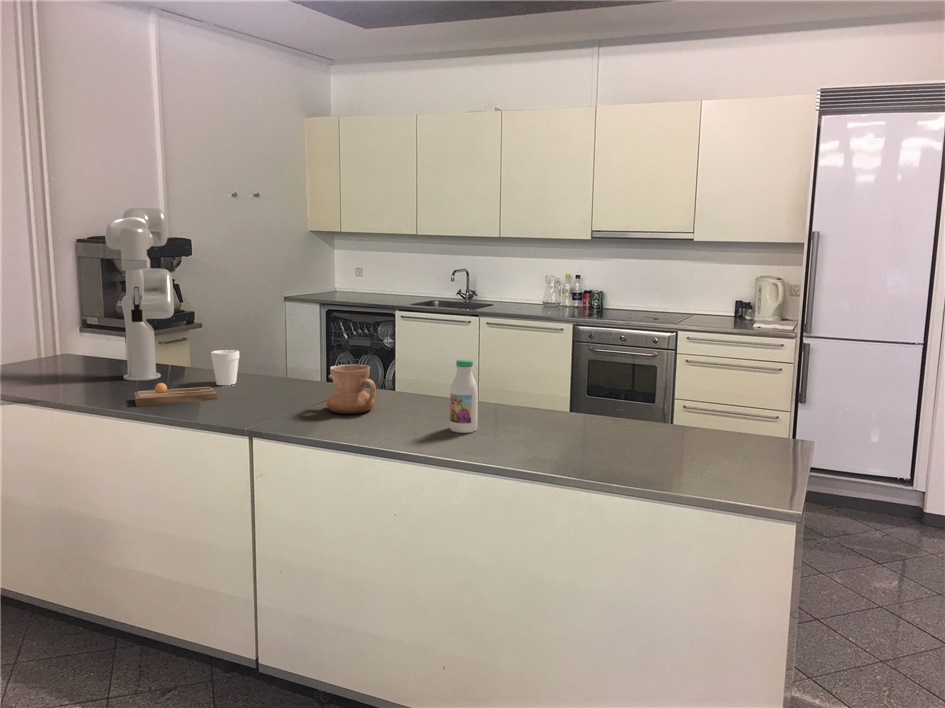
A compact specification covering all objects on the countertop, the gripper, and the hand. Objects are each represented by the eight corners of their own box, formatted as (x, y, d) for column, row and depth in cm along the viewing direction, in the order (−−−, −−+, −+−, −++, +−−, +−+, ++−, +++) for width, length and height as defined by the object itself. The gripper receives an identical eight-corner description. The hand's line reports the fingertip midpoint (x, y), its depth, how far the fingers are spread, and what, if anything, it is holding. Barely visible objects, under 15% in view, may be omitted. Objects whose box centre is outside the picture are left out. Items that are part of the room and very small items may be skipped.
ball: (150, 390, 233) (157, 384, 232) (155, 385, 236) (162, 379, 235) (159, 398, 234) (166, 392, 233) (164, 392, 237) (171, 386, 236)
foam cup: (206, 388, 259) (205, 352, 257) (226, 384, 267) (225, 349, 265) (226, 391, 255) (225, 354, 253) (245, 386, 263) (244, 351, 261)
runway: (134, 399, 238) (134, 390, 237) (212, 394, 248) (211, 385, 248) (136, 406, 227) (136, 397, 227) (217, 400, 238) (216, 391, 237)
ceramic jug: (313, 412, 223) (313, 367, 222) (347, 404, 235) (346, 361, 233) (356, 421, 213) (356, 373, 211) (389, 412, 225) (389, 367, 223)
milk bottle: (461, 425, 210) (463, 357, 207) (482, 430, 205) (484, 360, 202) (444, 430, 204) (445, 360, 201) (465, 435, 199) (466, 363, 196)
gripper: (121, 265, 242) (123, 320, 244) (122, 266, 229) (125, 324, 231) (145, 265, 245) (148, 319, 248) (148, 266, 232) (151, 323, 234)
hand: (137, 321), depth 239 cm, fingers closed
